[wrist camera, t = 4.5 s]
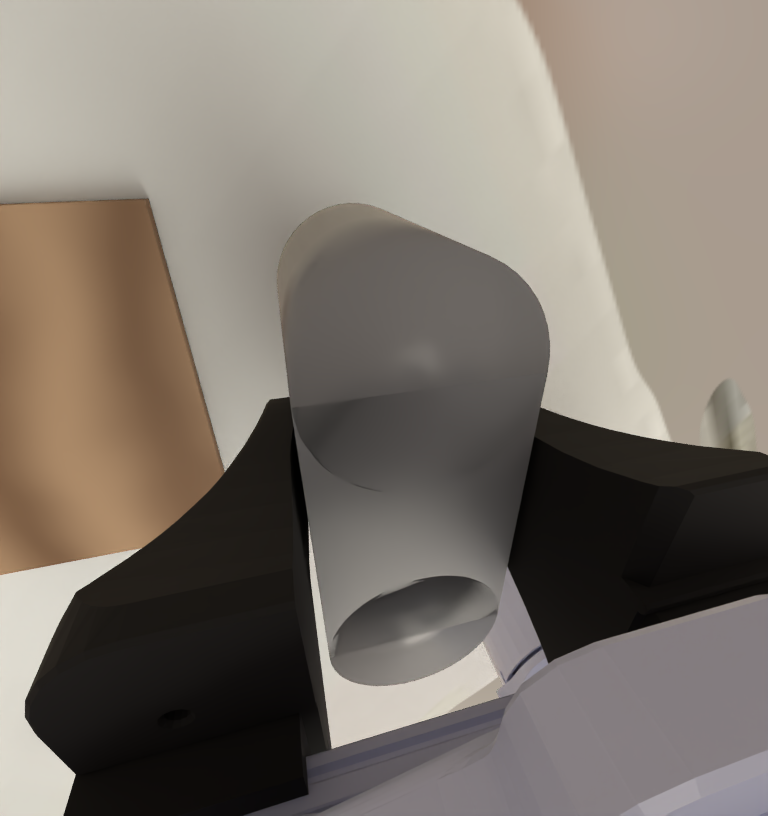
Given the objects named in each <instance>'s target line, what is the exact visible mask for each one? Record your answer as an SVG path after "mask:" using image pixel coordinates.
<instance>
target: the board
mask: <svg viewBox="0 0 768 816" xmlns="http://www.w3.org/2000/svg"><path fill="white" fill-rule="evenodd" d="M224 473H225V472H224V468H223V464H222V461H221V457H220V454H219V450H218V447H217V443H216V439H215V436H214V432H213V429H212V425H211V421H210V418H209V414H208V411H207V407H206V404H205V400H204V396H203V393H202V389H201V386H200V382H199V378H198V375H197V371H196V368H195V364H194V361H193V357H192V353H191V350H190V346H189V343H188V339H187V335H186V332H185V328H184V325H183V321H182V318H181V314H180V310H179V307H178V303H177V300H176V296H175V292H174V289H173V285H172V282H171V278H170V275H169V271H168V267H167V264H166V260H165V257H164V253H163V249H162V246H161V242H160V239H159V235H158V232H157V228H156V224H155V221H154V217H153V214H152V210H151V206H150V203H149V199H125V200H99V201H72V202H45V203H19V204H0V575H3V574H8V573H13V572H18V571H24V570H29V569H34V568H39V567H45V566H50V565H55V564H60V563H65V562H71V561H76V560H81V559H86V558H92V557H97V556H102V555H107V554H112V553H118V552H123V551H128V550H133V549H139V548H143V547H144V546H146V545H147V544H148V543H150V542H151V541H152V540H154V539H155V538H156V537H158V536H159V535H160V534H161V533H163V532H164V531H165V530H166V529H168V528H169V527H170V526H171V525H172V524H174V523H175V522H176V521H177V520H178V519H180V518H181V517H182V516H183V515H184V514H185V513H186V512H187V511H188V510H189V509H190V508H191V507H193V506H194V505H195V504H196V503H197V502H198V501H199V500H200V499H201V498H202V497H203V496H204V495H205V494H206V493H207V492H208V491H209V490H210V489H211V488H212V487H213V486H214V485H215V483H216V482H217V481H218V480H219V479H220V478H221V476H222V475H223V474H224Z"/></svg>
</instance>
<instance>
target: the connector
mask: <svg viewBox="0 0 768 816" xmlns="http://www.w3.org/2000/svg"><path fill="white" fill-rule="evenodd" d="M277 290H278V299H279V308H280V317H281V326H282V335H283V343H284V352H285V361H286V370H287V379H288V388H289V396H290V405H291V412H292V419H293V425H294V432H295V438H296V444H297V451H298V457H299V464H300V470H301V476H302V483H303V489H304V496H305V502H306V508H307V515H308V521H309V528H310V534H311V540H312V547H313V553H314V560H315V566H316V572H317V579H318V585H319V592H320V598H321V604H322V611H323V617H324V624H325V630H326V636H327V643H328V649H329V656H330V660H331V664H332V666H333V667H334V669H335V670H336V672H337V673H338V674H339V675H341V676H342V677H344V678H345V679H347V680H349V681H352V682H355V683H358V684H363V685H371V686H388V685H397V684H402V683H407V682H411V681H415V680H418V679H422V678H425V677H427V676H430V675H432V674H435V673H437V672H439V671H441V670H444V669H446V668H447V667H449V666H451V665H453V664H454V663H456V662H458V661H459V660H461V659H462V658H464V657H465V656H466V655H468V654H469V653H470V652H471V651H473V650H474V649H475V648H476V647H477V646H478V645H479V644H480V643H481V642H482V641H483V640H484V639H485V637H486V636H487V635H488V633H489V632H490V630H491V629H492V627H493V625H494V623H495V621H496V617H497V614H498V609H499V604H500V599H501V595H502V590H503V585H504V580H505V575H506V570H507V566H508V561H509V556H510V551H511V546H512V541H513V537H514V532H515V527H516V522H517V517H518V512H519V508H520V503H521V498H522V493H523V488H524V483H525V479H526V474H527V469H528V464H529V459H530V454H531V450H532V445H533V440H534V435H535V430H536V425H537V421H538V416H539V411H540V406H541V401H542V396H543V392H544V387H545V382H546V377H547V372H548V365H549V358H550V340H549V332H548V326H547V322H546V318H545V315H544V312H543V310H542V307H541V305H540V303H539V301H538V299H537V297H536V296H535V294H534V293H533V291H532V290H531V288H530V287H529V285H528V284H527V283H526V282H525V281H524V280H523V279H522V278H521V277H520V276H519V275H518V274H517V273H516V272H515V271H513V270H512V269H511V268H509V267H508V266H507V265H505V264H504V263H502V262H500V261H498V260H496V259H494V258H492V257H491V256H489V255H486V254H484V253H482V252H479V251H477V250H475V249H472V248H470V247H468V246H465V245H463V244H461V243H458V242H456V241H454V240H452V239H449V238H447V237H445V236H442V235H440V234H438V233H435V232H433V231H431V230H428V229H426V228H424V227H421V226H419V225H417V224H415V223H412V222H410V221H408V220H405V219H403V218H401V217H398V216H396V215H394V214H391V213H389V212H387V211H384V210H382V209H380V208H377V207H374V206H371V205H366V204H360V203H346V204H338V205H334V206H331V207H327V208H325V209H323V210H320V211H318V212H317V213H315V214H313V215H312V216H310V217H309V218H308V219H306V220H305V221H304V222H303V223H302V224H300V226H299V227H298V228H297V229H296V230H295V231H294V232H293V234H292V235H291V237H290V238H289V240H288V241H287V243H286V245H285V247H284V249H283V251H282V254H281V257H280V261H279V265H278V271H277Z"/></svg>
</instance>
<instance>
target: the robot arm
mask: <svg viewBox="0 0 768 816" xmlns="http://www.w3.org/2000/svg"><path fill="white" fill-rule="evenodd" d="M483 644H484V646H485V648H486V650H487V652H488V655H489V657H490V659H491V661H492V663H493V665H494V668H495V670H496V672H497V674H498V676H499V679H500V681H501V683H502V685H503V686H502V687H500V688H499V689H497V691H496V692H497V694H498V696H499V698H498V699H494V700H491V701H488V702H485V703H482V704H478V705H475V706H472V707H468V708H465V709H462V710H458V711H455V712H452V713H448V714H445V715H442V716H439V717H435V718H432V719H429V720H425V721H422V722H419V723H416V724H412V725H409V726H406V727H402V728H399V729H396V730H393V731H389V732H386V733H383V734H380V735H376V736H373V737H370V738H366V739H363V740H360V741H357V742H353V743H350V744H347V745H343V746H340V747H337V748H334V749H331V741H330V733H329V725H328V717H327V709H326V702H325V694H324V686H323V678H322V670H321V662H320V654H319V646H318V638H317V629H316V621H315V613H314V605H313V597H312V589H311V580H310V566H309V529H308V515H307V508H306V502H305V496H304V489H303V483H302V476H301V470H300V464H299V457H298V451H297V444H296V438H295V432H294V425H293V419H292V412H291V405H290V397H287V398H279V399H272V400H269V402H268V403H267V404H266V406H265V409H264V411H263V413H262V415H261V417H260V419H259V421H258V423H257V425H256V427H255V429H254V430H253V432H252V434H251V435H250V437H249V439H248V440H247V442H246V444H245V445H244V447H243V448H242V450H241V451H240V452H239V454H238V455H237V457H236V458H235V459H234V461H233V462H232V464H231V465H230V466H229V468H228V469H227V470H226V471H225V473H224V474H223V475H222V476H221V478H220V479H219V480H218V481H217V482H216V483H215V485H214V486H213V487H212V488H211V489H210V490H209V491H208V492H207V493H206V494H205V495H204V496H203V497H202V498H201V499H200V500H199V501H198V502H197V503H196V504H195V505H194V506H193V507H191V508H190V509H189V510H188V511H187V512H186V513H185V514H184V515H183V516H182V517H181V518H180V519H178V520H177V521H176V522H175V523H174V524H172V525H171V526H170V527H169V528H168V529H166V530H165V531H164V532H163V533H161V534H160V535H159V536H158V537H156V538H155V539H154V540H152V541H151V542H150V543H148V544H147V545H146V546H144V547H143V548H142V549H140V550H139V551H138V552H136V553H135V554H133V555H132V556H131V557H129V558H128V559H126V560H125V561H123V562H122V563H120V564H119V565H117V566H116V567H114V568H113V569H111V570H109V571H108V572H106V573H105V574H103V575H102V576H100V577H99V578H97V579H96V580H94V581H93V582H91V583H90V584H88V585H87V586H85V587H83V588H82V589H80V590H79V591H77V592H76V593H75V595H74V597H73V599H72V601H71V603H70V605H69V606H68V608H67V610H66V612H65V613H64V615H63V617H62V619H61V621H60V623H59V625H58V627H57V629H56V631H55V633H54V635H53V638H52V640H51V642H50V644H49V647H48V649H47V651H46V654H45V656H44V658H43V660H42V663H41V665H40V667H39V670H38V672H37V674H36V677H35V679H34V681H33V684H32V686H31V688H30V690H29V693H28V695H27V697H26V700H25V718H26V720H27V721H28V723H29V724H30V726H31V728H32V729H33V731H34V732H35V734H36V735H37V736H38V737H39V738H40V739H41V740H42V741H43V742H44V743H45V744H46V745H47V746H48V747H49V748H50V749H51V750H52V751H53V752H54V753H55V754H56V755H57V756H58V757H59V758H60V759H61V760H62V761H63V762H64V763H65V764H66V765H67V766H68V767H69V768H70V769H71V770H72V771H73V772H74V773H75V774H76V776H75V779H74V783H73V786H72V789H71V793H70V796H69V799H68V803H67V806H66V809H65V813H64V816H768V455H766V454H763V453H761V452H753V451H743V450H733V449H723V448H713V447H703V446H695V445H688V444H681V443H675V442H668V441H662V440H657V439H651V438H646V437H640V436H636V435H631V434H627V433H623V432H618V431H614V430H609V429H606V428H602V427H598V426H594V425H591V424H588V423H584V422H581V421H578V420H574V419H571V418H568V417H565V416H562V415H559V414H556V413H554V412H551V411H548V410H546V409H543V408H540V411H539V416H538V421H537V425H536V430H535V435H534V440H533V445H532V450H531V454H530V459H529V464H528V469H527V474H526V479H525V483H524V488H523V493H522V498H521V503H520V508H519V512H518V517H517V522H516V527H515V532H514V537H513V541H512V546H511V551H510V556H509V561H508V566H507V570H506V575H505V580H504V585H503V590H502V595H501V599H500V604H499V609H498V614H497V617H496V621H495V623H494V625H493V627H492V629H491V630H490V632H489V633H488V635H487V636H486V637H485V639H484V640H483Z"/></svg>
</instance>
